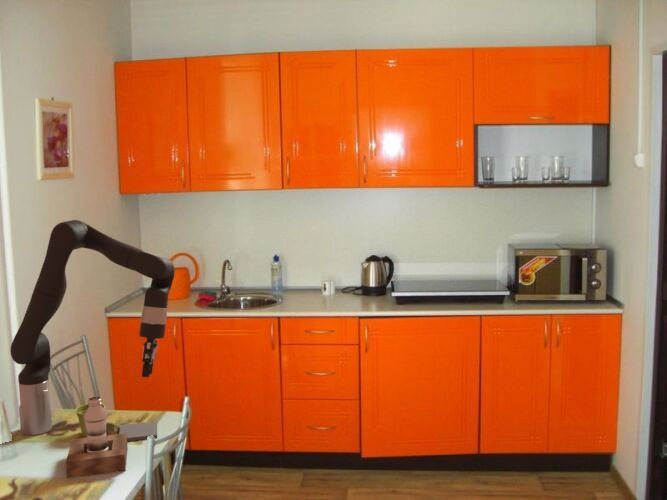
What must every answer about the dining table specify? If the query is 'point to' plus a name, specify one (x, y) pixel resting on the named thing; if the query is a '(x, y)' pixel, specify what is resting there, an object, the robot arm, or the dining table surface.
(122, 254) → the robot arm
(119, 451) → the pocket block
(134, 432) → the slate mat
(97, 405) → the plastic bottle
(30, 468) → the dining table surface
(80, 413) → the plant pot
